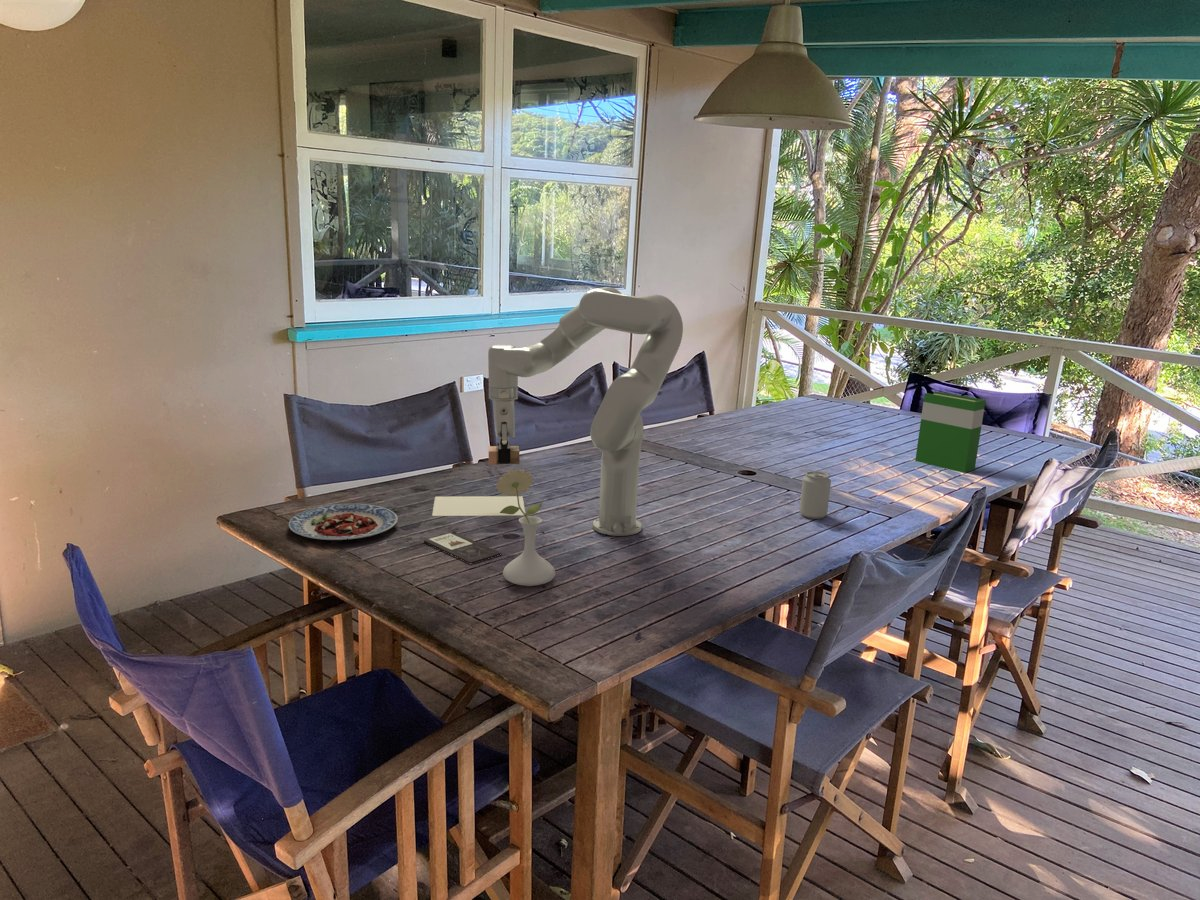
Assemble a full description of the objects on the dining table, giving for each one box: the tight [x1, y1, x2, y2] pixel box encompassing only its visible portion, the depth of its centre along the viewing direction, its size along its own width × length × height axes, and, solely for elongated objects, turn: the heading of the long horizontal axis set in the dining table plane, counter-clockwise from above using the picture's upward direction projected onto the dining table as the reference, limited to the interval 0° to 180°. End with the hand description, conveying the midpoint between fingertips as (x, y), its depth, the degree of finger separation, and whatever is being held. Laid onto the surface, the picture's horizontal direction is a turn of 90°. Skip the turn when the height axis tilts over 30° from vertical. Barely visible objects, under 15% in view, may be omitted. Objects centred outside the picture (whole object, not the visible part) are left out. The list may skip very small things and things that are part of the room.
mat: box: [431, 495, 526, 517], centre depth 230 cm, size 16×24×1 cm, turn 98°
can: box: [798, 470, 832, 520], centre depth 235 cm, size 8×8×12 cm
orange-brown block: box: [487, 445, 520, 465], centre depth 227 cm, size 6×8×4 cm
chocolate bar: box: [423, 531, 502, 564], centre depth 202 cm, size 9×1×18 cm
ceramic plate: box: [288, 503, 399, 541], centre depth 212 cm, size 26×26×3 cm
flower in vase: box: [495, 468, 556, 587], centre depth 182 cm, size 13×11×25 cm
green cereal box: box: [914, 390, 986, 474], centre depth 291 cm, size 18×7×24 cm, turn 42°
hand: (504, 459), depth 227 cm, fingers closed on orange-brown block, 5 cm apart
